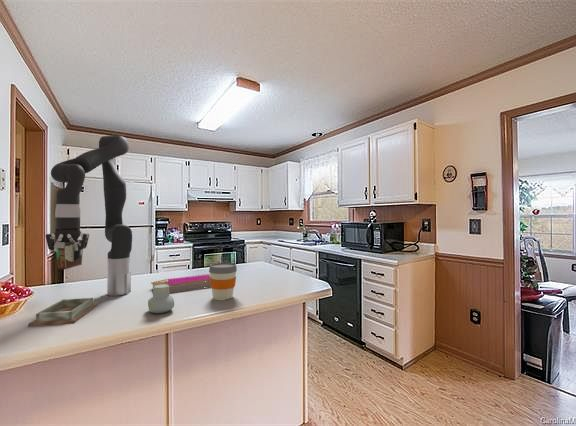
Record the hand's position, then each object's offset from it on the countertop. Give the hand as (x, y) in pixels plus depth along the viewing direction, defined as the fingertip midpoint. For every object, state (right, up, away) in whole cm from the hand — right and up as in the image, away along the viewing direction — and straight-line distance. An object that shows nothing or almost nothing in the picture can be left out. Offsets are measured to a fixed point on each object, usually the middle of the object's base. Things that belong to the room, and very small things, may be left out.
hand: (67, 260), depth 109 cm
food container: (-1, -3, 0) cm, 3 cm away
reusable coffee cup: (+54, -21, +24) cm, 63 cm away
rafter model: (+32, -22, +41) cm, 57 cm away
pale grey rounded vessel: (+34, -21, +5) cm, 40 cm away
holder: (0, -21, 0) cm, 21 cm away
